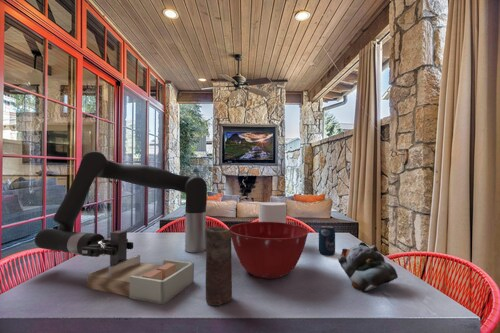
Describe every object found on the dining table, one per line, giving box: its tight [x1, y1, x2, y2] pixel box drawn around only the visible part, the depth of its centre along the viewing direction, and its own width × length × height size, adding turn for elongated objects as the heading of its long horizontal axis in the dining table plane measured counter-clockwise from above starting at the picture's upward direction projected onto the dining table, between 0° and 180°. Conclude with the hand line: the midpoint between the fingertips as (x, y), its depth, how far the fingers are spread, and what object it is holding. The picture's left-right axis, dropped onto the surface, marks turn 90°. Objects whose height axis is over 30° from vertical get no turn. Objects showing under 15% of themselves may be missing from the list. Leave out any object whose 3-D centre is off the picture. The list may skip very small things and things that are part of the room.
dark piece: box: [108, 229, 141, 277], centre depth 85 cm, size 5×12×12 cm, turn 161°
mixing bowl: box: [228, 221, 310, 279], centre depth 94 cm, size 28×28×16 cm
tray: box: [128, 258, 195, 305], centre depth 79 cm, size 11×16×6 cm
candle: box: [205, 226, 233, 306], centre depth 73 cm, size 8×7×20 cm
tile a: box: [157, 263, 176, 281], centre depth 82 cm, size 5×5×3 cm
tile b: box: [142, 270, 162, 280], centre depth 77 cm, size 5×5×3 cm
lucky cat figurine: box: [337, 241, 399, 293], centre depth 84 cm, size 15×12×14 cm
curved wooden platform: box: [86, 262, 162, 297], centre depth 84 cm, size 17×14×4 cm
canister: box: [258, 201, 287, 223], centre depth 129 cm, size 14×14×20 cm
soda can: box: [318, 224, 336, 257], centre depth 113 cm, size 7×7×12 cm
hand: (124, 248), depth 84 cm, fingers open, 6 cm apart
